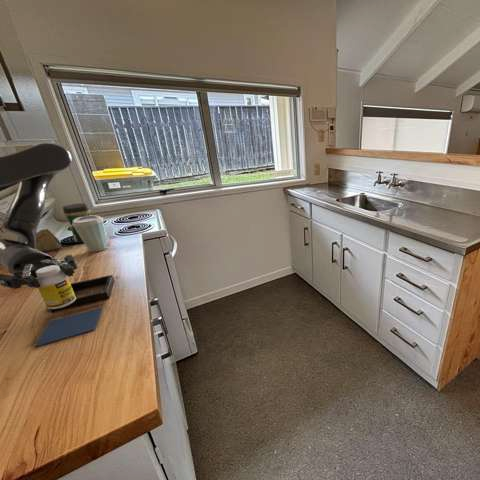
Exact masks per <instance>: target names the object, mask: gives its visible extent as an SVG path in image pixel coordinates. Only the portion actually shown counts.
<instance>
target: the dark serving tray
mask: <svg viewBox="0 0 480 480" xmlns="http://www.w3.org/2000/svg"><path fill="white" fill-rule="evenodd" d="M70 284H71V286H72V289H73V291H74V292H78V291H81V290H86V289H90V288H94V287H95V288H96V287H100V286H103V287H104V288H103V290H102V291H99V292H94V293H91V294H86V295H82V296H78V297H76V300H75V301H74V302H73V303H71V304H69V305H67V306H65V307H62V308H57V309H49V310H50V312H51V314H53V313H54V314H55V313H58V312H62V311H65V310H69V309H74V308H79V307H82V306H86V305H89V304H94V303H98V302H102V301H106V300H109V299H110V298H111V294H112V291H113V287H114V284H115V278H114V275H113V274H109V275H105V276H100V277H95V278H91V279H86V280H83V281H82V280H81V281H76V282H72V283H70Z"/></svg>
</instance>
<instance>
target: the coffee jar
mask: <svg viewBox="0 0 480 480" xmlns="http://www.w3.org/2000/svg"><path fill="white" fill-rule="evenodd" d="M62 210H63V215H64V217H65V218H67V221H68V222H69V226H70V228H71V233H72V237H73V239H74V242H75V243H76V244H77V243H78V244H82V243H84V242H83V240H82V239H81V237H80V236H79V234H78V233H77V231H76V230H75V228H74V227H73V226H72V223H73V220H74V219H76V218H79V217H84V216H90V215H91V210H90V207H89V206H88V204H87V203H85V202H80V203H71V204H66V205H63V206H62Z"/></svg>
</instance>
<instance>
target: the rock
mask: <svg viewBox="0 0 480 480" xmlns="http://www.w3.org/2000/svg"><path fill="white" fill-rule="evenodd" d="M62 245H63V244H62V243H61V241H60V240H59V239H58V237H57V236H56V235H55V234H54V233H53V232H52V231H51V230H49V229H48V228H45V229H41V230H39V231H37V232H36V249H37V250H39V251H41V252H43V253H44V252H48V251H51V250H55V249H58V248H61V247H62Z"/></svg>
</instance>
